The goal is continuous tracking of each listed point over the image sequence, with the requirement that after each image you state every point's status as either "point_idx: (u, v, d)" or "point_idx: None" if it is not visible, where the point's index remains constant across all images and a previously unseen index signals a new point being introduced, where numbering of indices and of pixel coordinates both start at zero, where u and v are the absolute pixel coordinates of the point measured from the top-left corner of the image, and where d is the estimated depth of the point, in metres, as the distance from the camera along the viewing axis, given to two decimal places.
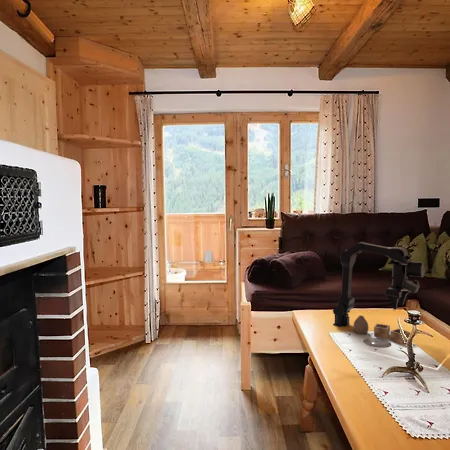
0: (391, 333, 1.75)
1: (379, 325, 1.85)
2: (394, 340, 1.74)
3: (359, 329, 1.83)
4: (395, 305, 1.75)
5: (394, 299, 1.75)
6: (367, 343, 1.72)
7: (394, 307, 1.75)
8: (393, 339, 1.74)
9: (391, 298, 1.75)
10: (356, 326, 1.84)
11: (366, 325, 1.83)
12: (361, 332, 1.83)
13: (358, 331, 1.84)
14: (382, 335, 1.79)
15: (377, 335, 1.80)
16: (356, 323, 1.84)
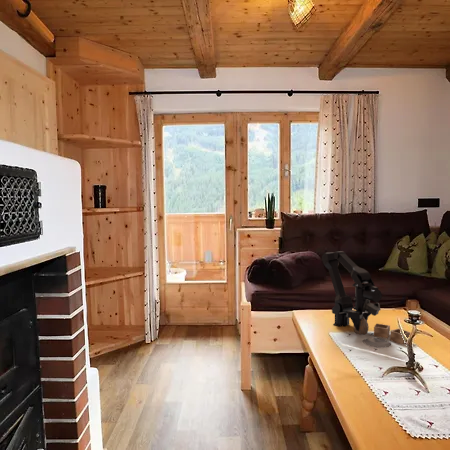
0: (391, 333, 1.75)
1: (379, 325, 1.85)
2: (394, 340, 1.74)
3: (359, 329, 1.83)
4: (358, 326, 1.82)
5: (357, 321, 1.82)
6: (367, 343, 1.72)
7: (357, 328, 1.83)
8: (393, 339, 1.74)
9: (354, 320, 1.83)
10: None
11: (366, 325, 1.83)
12: (361, 332, 1.83)
13: (358, 331, 1.84)
14: (382, 335, 1.79)
15: (377, 335, 1.80)
16: None
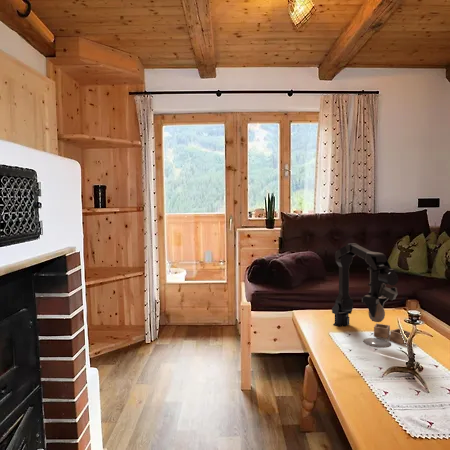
0: (391, 333, 1.75)
1: (379, 325, 1.85)
2: (394, 340, 1.74)
3: (375, 315, 1.70)
4: (373, 313, 1.69)
5: (372, 306, 1.69)
6: (367, 343, 1.72)
7: (372, 315, 1.70)
8: (393, 339, 1.74)
9: (369, 305, 1.70)
10: None
11: (382, 311, 1.70)
12: (377, 319, 1.70)
13: (374, 318, 1.70)
14: (382, 335, 1.79)
15: (377, 335, 1.80)
16: None
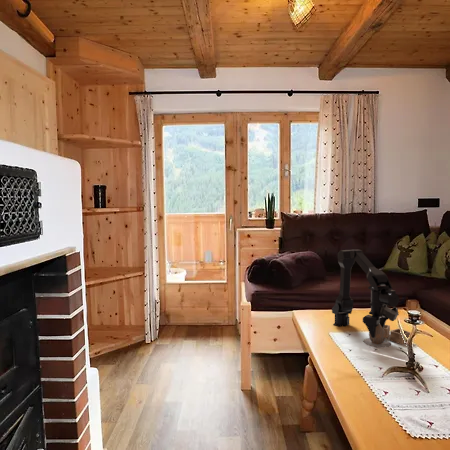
0: (391, 333, 1.75)
1: None
2: (394, 340, 1.74)
3: (375, 338, 1.70)
4: (373, 333, 1.68)
5: (372, 327, 1.68)
6: (367, 343, 1.72)
7: (372, 335, 1.69)
8: (393, 339, 1.74)
9: (369, 326, 1.69)
10: None
11: (383, 333, 1.70)
12: (378, 341, 1.70)
13: (374, 340, 1.70)
14: None
15: None
16: None
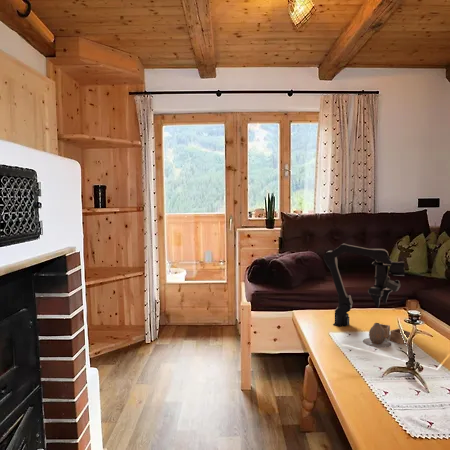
0: (391, 333, 1.75)
1: None
2: (394, 340, 1.74)
3: (375, 338, 1.70)
4: (378, 303, 1.86)
5: (377, 297, 1.86)
6: (367, 343, 1.72)
7: (377, 305, 1.87)
8: (393, 339, 1.74)
9: (374, 296, 1.87)
10: (372, 334, 1.71)
11: (383, 333, 1.70)
12: (378, 341, 1.70)
13: (374, 340, 1.70)
14: None
15: None
16: (372, 331, 1.71)
